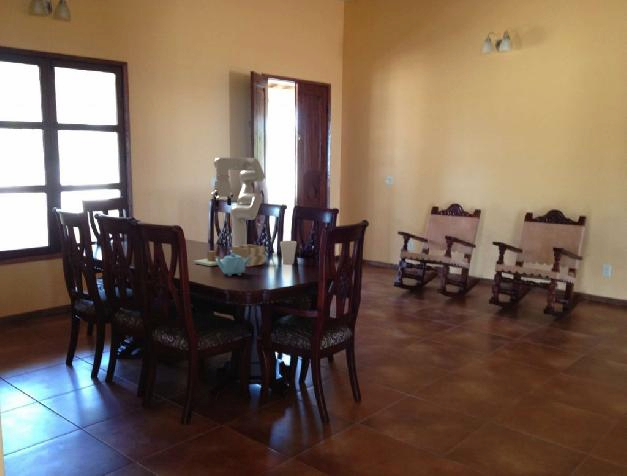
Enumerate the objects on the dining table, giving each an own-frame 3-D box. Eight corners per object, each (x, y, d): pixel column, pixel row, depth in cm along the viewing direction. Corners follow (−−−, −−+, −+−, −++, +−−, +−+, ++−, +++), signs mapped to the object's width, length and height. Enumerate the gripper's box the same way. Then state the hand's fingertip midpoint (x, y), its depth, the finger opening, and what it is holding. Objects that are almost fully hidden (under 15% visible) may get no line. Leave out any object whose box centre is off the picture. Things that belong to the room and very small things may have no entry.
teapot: (236, 278, 280) (236, 256, 278) (214, 275, 285) (214, 254, 284) (251, 273, 294) (251, 252, 292) (230, 270, 299) (230, 250, 298)
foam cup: (298, 262, 325) (298, 241, 323) (291, 265, 317) (291, 243, 315) (284, 261, 329) (284, 240, 327) (277, 264, 321) (277, 242, 319)
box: (249, 260, 331) (249, 244, 330) (265, 263, 323) (265, 246, 321) (232, 263, 321) (232, 246, 320) (248, 266, 312) (248, 249, 311)
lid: (213, 261, 330) (213, 248, 328) (229, 264, 320) (229, 251, 319) (193, 264, 318) (193, 251, 317) (209, 267, 309) (209, 254, 308)
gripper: (229, 177, 341) (229, 204, 343) (207, 178, 328) (208, 206, 330) (237, 177, 336) (237, 205, 339) (215, 178, 323) (216, 207, 326)
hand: (223, 205), depth 334 cm, fingers open, 9 cm apart
